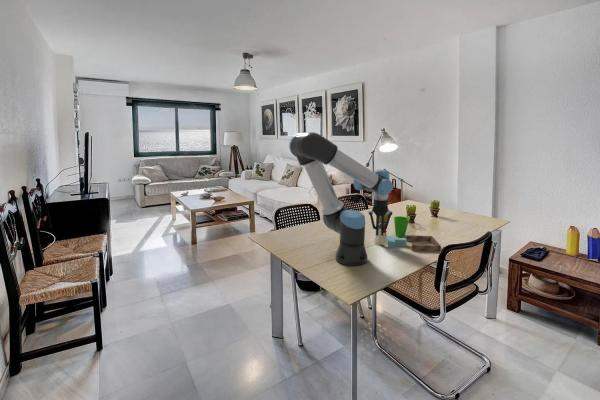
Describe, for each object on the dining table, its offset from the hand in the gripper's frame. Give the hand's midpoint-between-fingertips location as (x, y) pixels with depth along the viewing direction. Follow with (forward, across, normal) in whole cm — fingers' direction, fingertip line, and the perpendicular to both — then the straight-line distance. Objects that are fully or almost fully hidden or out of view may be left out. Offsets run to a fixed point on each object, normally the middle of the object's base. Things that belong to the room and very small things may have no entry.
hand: (379, 241), depth 178 cm
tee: (+2, +9, 0) cm, 9 cm away
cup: (+2, +14, +15) cm, 21 cm away
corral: (+2, +22, 0) cm, 22 cm away
